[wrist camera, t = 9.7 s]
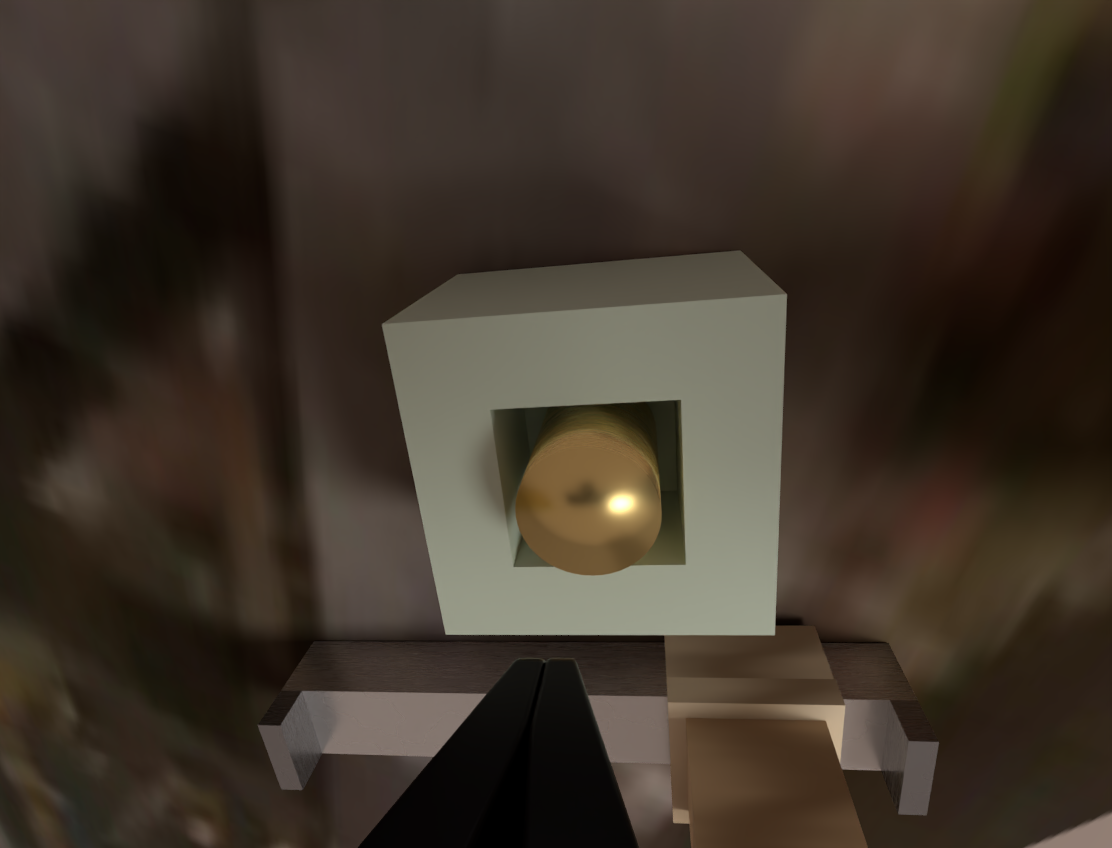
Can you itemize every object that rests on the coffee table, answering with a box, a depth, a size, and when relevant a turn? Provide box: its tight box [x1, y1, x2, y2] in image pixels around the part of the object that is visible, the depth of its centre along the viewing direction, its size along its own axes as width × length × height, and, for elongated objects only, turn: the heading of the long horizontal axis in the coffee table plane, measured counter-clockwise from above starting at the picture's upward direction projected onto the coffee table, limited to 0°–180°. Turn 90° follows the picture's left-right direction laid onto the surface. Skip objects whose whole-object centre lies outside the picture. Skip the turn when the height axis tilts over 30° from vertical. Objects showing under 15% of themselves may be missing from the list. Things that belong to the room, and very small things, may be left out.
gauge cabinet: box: [382, 250, 787, 635], centre depth 17 cm, size 8×8×6 cm
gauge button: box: [515, 402, 662, 576], centre depth 15 cm, size 3×3×4 cm
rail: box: [258, 641, 939, 815], centre depth 22 cm, size 21×3×4 cm, turn 96°
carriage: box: [664, 626, 868, 848], centre depth 19 cm, size 5×5×8 cm
